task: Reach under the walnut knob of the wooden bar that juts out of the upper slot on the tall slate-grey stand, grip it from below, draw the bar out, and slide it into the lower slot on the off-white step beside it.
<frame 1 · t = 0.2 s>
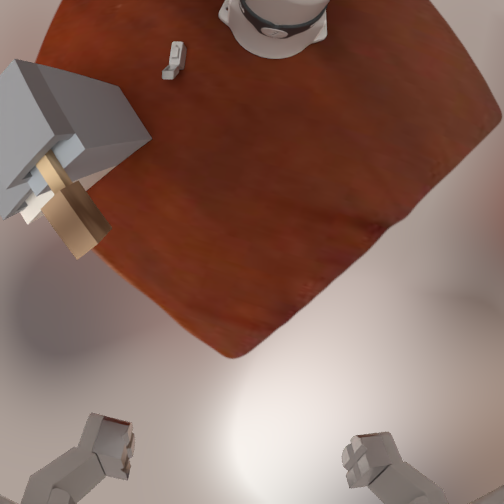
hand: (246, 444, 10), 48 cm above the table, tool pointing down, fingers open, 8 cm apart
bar: (85, 212, 28), point 26 cm above the table, touching stand
stand: (134, 152, 50), on the table
lighter: (179, 66, 46), on the table
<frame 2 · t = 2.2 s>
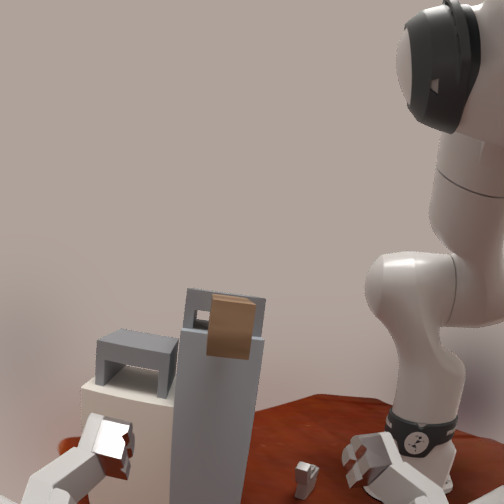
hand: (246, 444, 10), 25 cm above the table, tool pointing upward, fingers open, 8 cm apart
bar: (225, 348, 24), point 26 cm above the table, touching stand
lighter: (300, 497, 36), on the table
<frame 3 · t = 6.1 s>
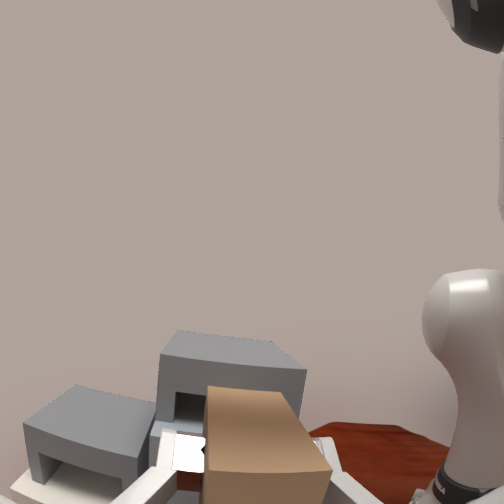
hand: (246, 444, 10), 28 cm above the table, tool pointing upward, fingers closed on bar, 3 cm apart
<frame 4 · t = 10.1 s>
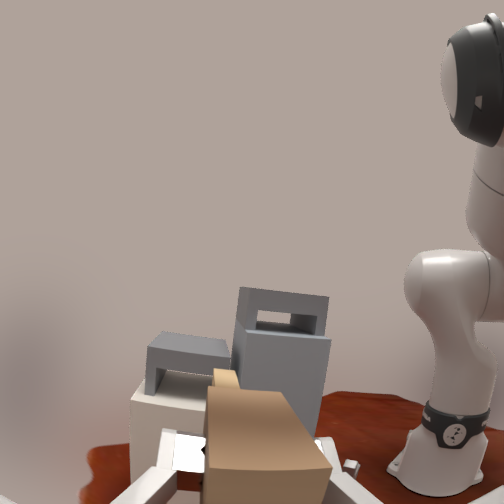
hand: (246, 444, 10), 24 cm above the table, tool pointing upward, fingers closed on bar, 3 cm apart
lighter: (342, 495, 35), on the table
when the fingers open (21 cm above the table, at t = 14.1 s): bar drops 2 cm, resting on stand.
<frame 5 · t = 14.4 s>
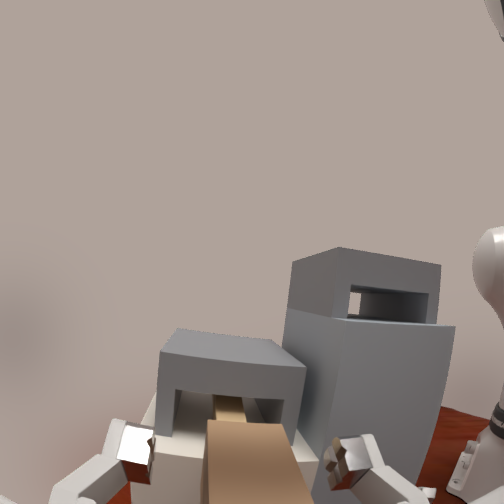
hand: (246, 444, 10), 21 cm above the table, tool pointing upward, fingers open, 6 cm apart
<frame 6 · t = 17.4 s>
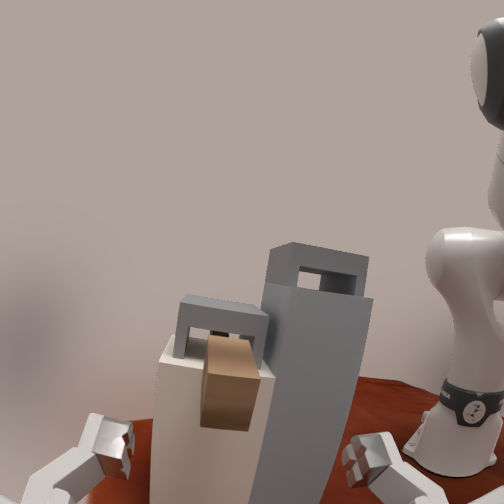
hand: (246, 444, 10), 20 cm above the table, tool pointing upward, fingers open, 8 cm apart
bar: (222, 404, 20), point 17 cm above the table, tilted 10°, touching stand
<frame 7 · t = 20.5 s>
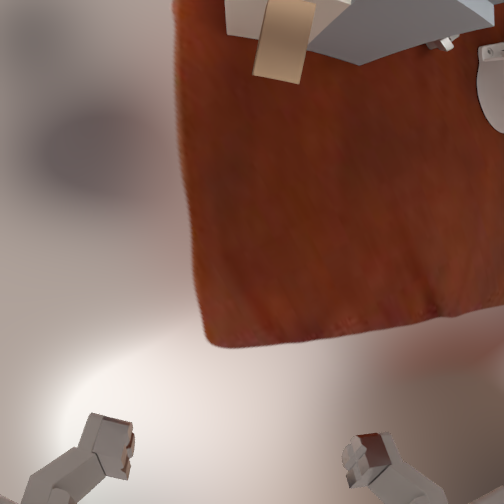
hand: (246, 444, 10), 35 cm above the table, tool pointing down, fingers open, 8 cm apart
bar: (278, 42, 20), point 17 cm above the table, tilted 10°, touching stand
stand: (332, 57, 35), on the table
lighter: (428, 43, 34), on the table
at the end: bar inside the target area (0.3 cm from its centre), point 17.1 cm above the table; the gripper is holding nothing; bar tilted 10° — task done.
